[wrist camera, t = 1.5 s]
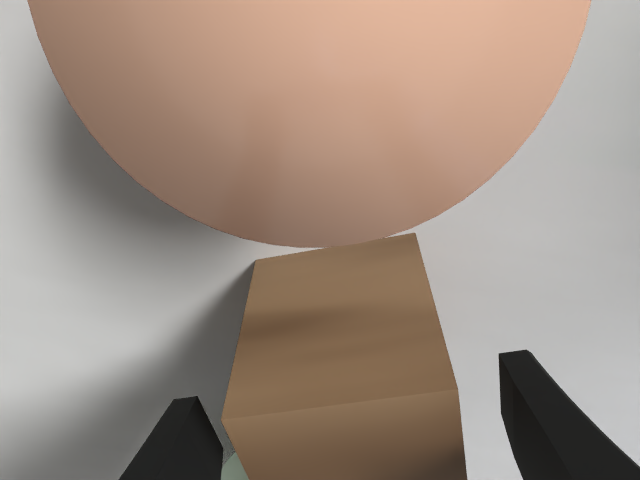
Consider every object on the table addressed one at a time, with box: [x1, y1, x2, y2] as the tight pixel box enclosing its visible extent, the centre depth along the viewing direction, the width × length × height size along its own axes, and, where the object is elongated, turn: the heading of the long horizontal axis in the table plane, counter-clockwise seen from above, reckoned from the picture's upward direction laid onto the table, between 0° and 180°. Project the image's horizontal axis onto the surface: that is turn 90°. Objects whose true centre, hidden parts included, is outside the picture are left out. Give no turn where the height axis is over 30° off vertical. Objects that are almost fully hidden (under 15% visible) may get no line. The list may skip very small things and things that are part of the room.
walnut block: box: [221, 233, 467, 480], centre depth 13 cm, size 4×4×6 cm
